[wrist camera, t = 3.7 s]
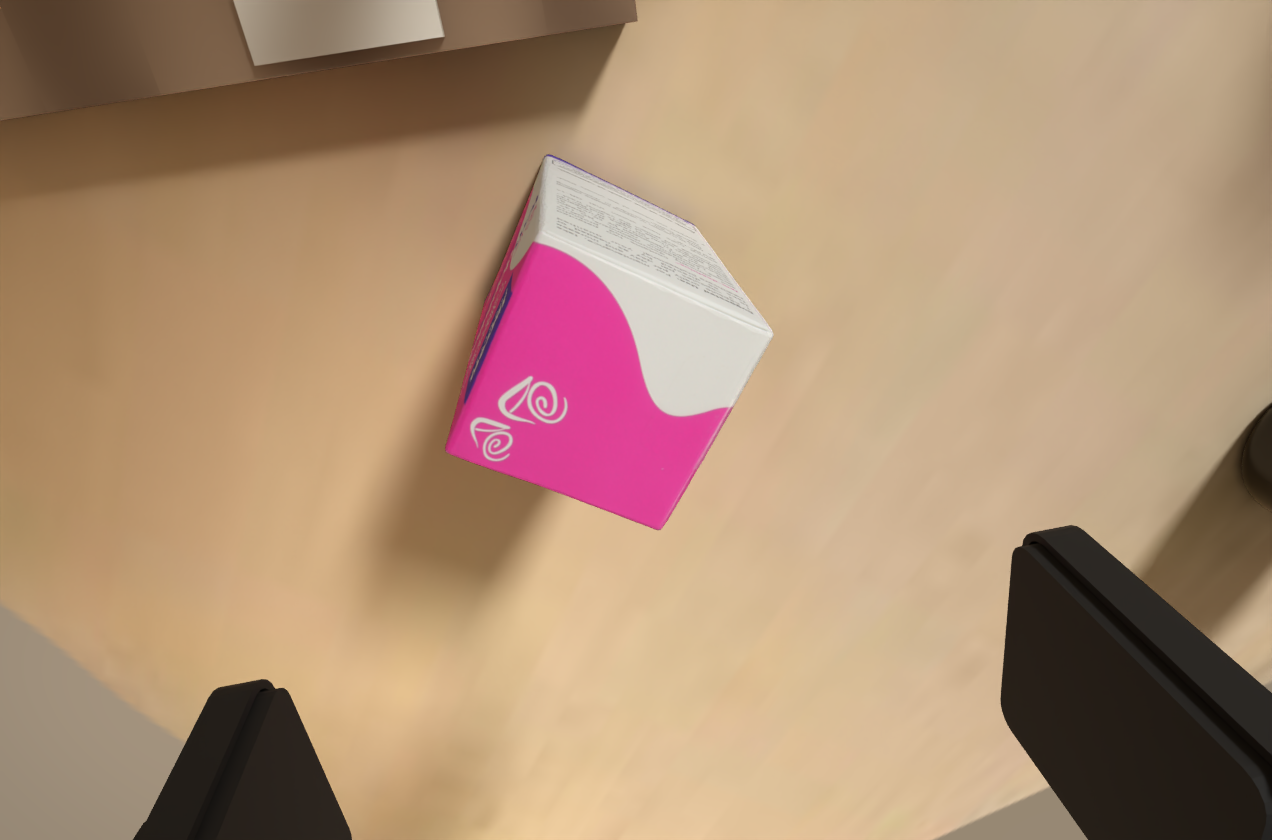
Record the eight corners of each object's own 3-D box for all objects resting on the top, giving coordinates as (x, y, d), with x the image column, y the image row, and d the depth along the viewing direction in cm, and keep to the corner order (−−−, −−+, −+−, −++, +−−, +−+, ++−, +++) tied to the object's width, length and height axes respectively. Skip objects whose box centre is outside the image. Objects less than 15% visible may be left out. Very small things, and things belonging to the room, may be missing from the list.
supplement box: (539, 147, 26) (542, 220, 15) (697, 223, 27) (794, 334, 17) (474, 303, 28) (439, 460, 17) (625, 366, 29) (673, 541, 19)
